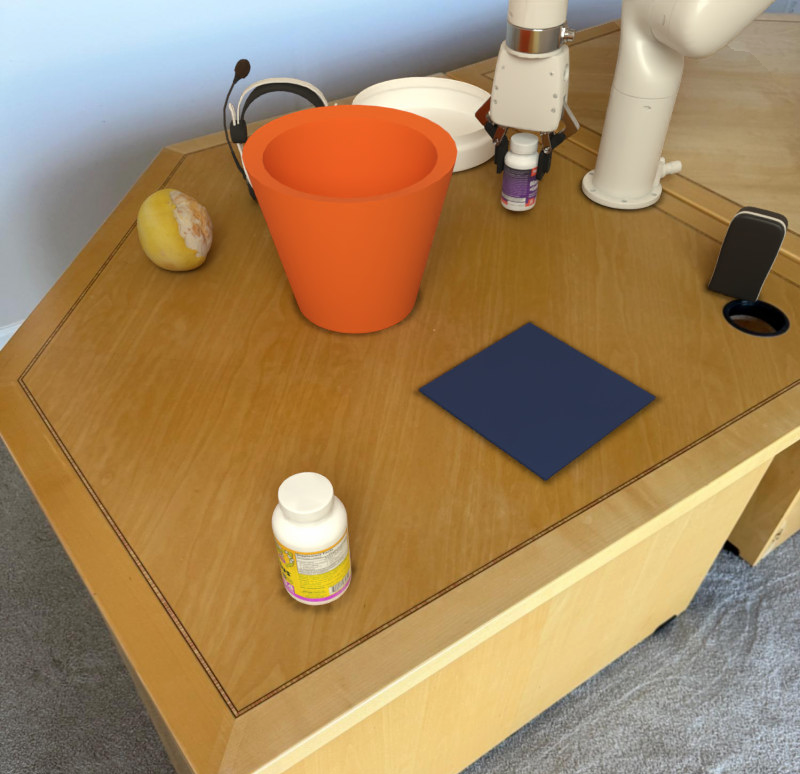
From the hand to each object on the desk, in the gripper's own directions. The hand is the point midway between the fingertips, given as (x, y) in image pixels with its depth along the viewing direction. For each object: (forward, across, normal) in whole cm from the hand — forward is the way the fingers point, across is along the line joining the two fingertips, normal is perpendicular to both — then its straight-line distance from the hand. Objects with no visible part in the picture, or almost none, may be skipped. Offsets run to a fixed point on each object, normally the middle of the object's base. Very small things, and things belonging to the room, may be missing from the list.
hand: (521, 171), depth 113 cm
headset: (+6, +34, +10) cm, 36 cm away
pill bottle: (+5, 0, 0) cm, 5 cm away
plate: (+7, +23, -18) cm, 30 cm away
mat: (+6, -15, +40) cm, 43 cm away
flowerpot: (+6, +14, +30) cm, 34 cm away
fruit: (+5, +40, +33) cm, 52 cm away
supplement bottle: (+5, -3, +75) cm, 75 cm away
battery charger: (+7, -34, +9) cm, 36 cm away
